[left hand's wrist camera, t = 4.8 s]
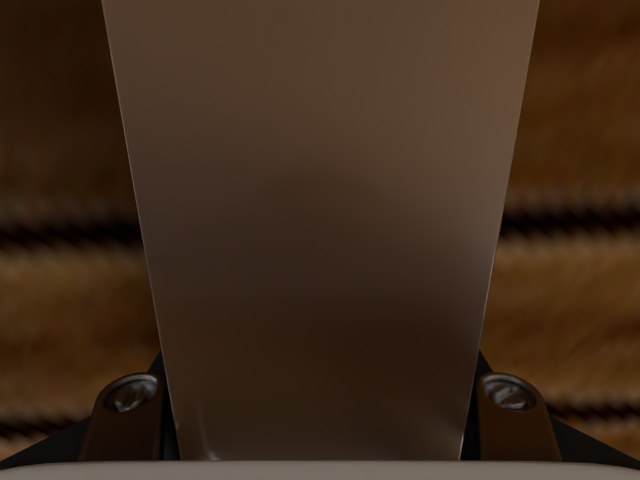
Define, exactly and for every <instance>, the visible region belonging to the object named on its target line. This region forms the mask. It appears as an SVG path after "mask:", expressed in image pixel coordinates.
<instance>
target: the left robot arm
mask: <svg viewBox="0 0 640 480" xmlns="http://www.w3.org/2000/svg"><path fill="white" fill-rule="evenodd" d="M0 480H640V461H638V460H636V459H634V458H632V457H630V456H628V455H626V454H624V453H622V452H620V451H618V450H616V449H614V448H612V447H610V446H608V445H606V444H604V443H602V442H600V441H598V440H596V439H594V438H592V437H590V436H588V435H586V434H584V433H582V432H580V431H578V430H576V429H574V428H572V427H570V426H568V425H566V424H564V423H562V422H560V421H558V420H556V419H554V418H552V417H550V416H549V415H548V411H547V408H546V405H545V402H544V399H543V397H542V395H541V393H540V392H539V391H538V390H537V389H536V388H535V387H534V386H533V385H531V384H530V383H528V382H527V381H526V380H524V379H521V378H519V377H517V376H514V375H511V374H507V373H500V372H493V371H492V369H491V368H490V366H489V364H488V363H487V361H486V360H485V358H484V356H483V355H482V353H481V351H480V350H479V353H478V359H477V364H476V370H475V376H474V382H473V387H472V393H471V399H470V405H469V410H468V416H467V422H466V428H465V433H464V439H463V445H462V451H461V456H460V461H437V460H203V461H181V460H180V454H179V448H178V442H177V436H176V431H175V425H174V419H173V413H172V408H171V402H170V396H169V390H168V384H167V379H166V373H165V367H164V361H163V355H162V350H160V352H159V354H158V355H157V357H156V358H155V360H154V362H153V363H152V365H151V366H150V368H149V370H148V371H147V372H140V373H133V374H129V375H126V376H123V377H121V378H119V379H116V380H114V381H113V382H112V383H110V384H109V385H107V386H106V387H105V388H104V389H103V390H102V391H101V392H100V393H99V395H98V397H97V399H96V402H95V405H94V408H93V411H92V415H91V416H90V417H88V418H86V419H84V420H82V421H80V422H78V423H76V424H74V425H72V426H70V427H68V428H66V429H64V430H62V431H60V432H58V433H56V434H54V435H52V436H50V437H48V438H46V439H44V440H42V441H40V442H38V443H36V444H34V445H32V446H30V447H28V448H26V449H24V450H22V451H20V452H18V453H16V454H14V455H12V456H10V457H8V458H6V459H4V460H2V461H0Z"/></svg>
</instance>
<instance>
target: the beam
mask: <svg viewBox="0 0 640 480" xmlns="http://www.w3.org/2000/svg"><path fill="white" fill-rule="evenodd" d="M539 2H540V0H101V3H102V8H103V14H104V20H105V26H106V32H107V37H108V43H109V49H110V55H111V61H112V66H113V72H114V78H115V84H116V89H117V95H118V101H119V107H120V113H121V118H122V124H123V130H124V136H125V141H126V147H127V153H128V159H129V165H130V170H131V176H132V182H133V188H134V194H135V199H136V205H137V211H138V217H139V222H140V228H141V234H142V240H143V246H144V251H145V257H146V263H147V269H148V275H149V280H150V286H151V292H152V298H153V303H154V309H155V315H156V321H157V327H158V332H159V338H160V344H161V350H162V355H163V361H164V367H165V373H166V379H167V384H168V390H169V396H170V402H171V408H172V413H173V419H174V425H175V431H176V436H177V442H178V448H179V454H180V460H181V461H203V460H437V461H460V456H461V451H462V445H463V439H464V433H465V428H466V422H467V416H468V410H469V405H470V399H471V393H472V387H473V382H474V376H475V370H476V364H477V359H478V353H479V347H480V341H481V336H482V330H483V324H484V318H485V313H486V307H487V301H488V295H489V290H490V284H491V278H492V272H493V267H494V261H495V255H496V249H497V244H498V238H499V232H500V227H501V221H502V215H503V209H504V204H505V198H506V192H507V186H508V181H509V175H510V169H511V163H512V158H513V152H514V146H515V140H516V135H517V129H518V123H519V117H520V112H521V106H522V100H523V94H524V89H525V83H526V77H527V71H528V66H529V60H530V54H531V48H532V43H533V37H534V31H535V25H536V20H537V14H538V8H539Z"/></svg>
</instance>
